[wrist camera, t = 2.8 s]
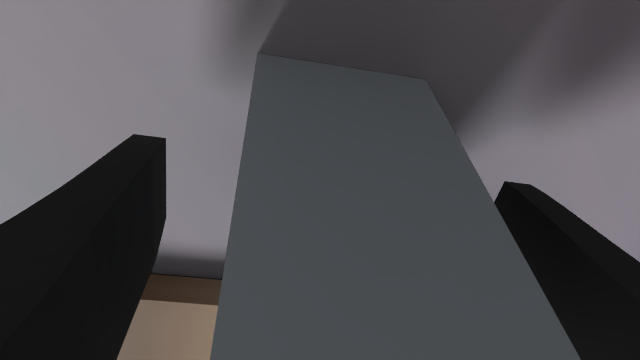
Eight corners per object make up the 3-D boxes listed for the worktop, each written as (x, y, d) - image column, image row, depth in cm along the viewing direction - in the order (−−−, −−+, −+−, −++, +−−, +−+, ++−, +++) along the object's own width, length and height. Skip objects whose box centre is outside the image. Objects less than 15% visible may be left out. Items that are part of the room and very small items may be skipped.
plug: (425, 79, 11) (604, 402, 5) (382, 208, 14) (466, 545, 7) (257, 53, 11) (206, 379, 4) (242, 192, 13) (193, 544, 7)
